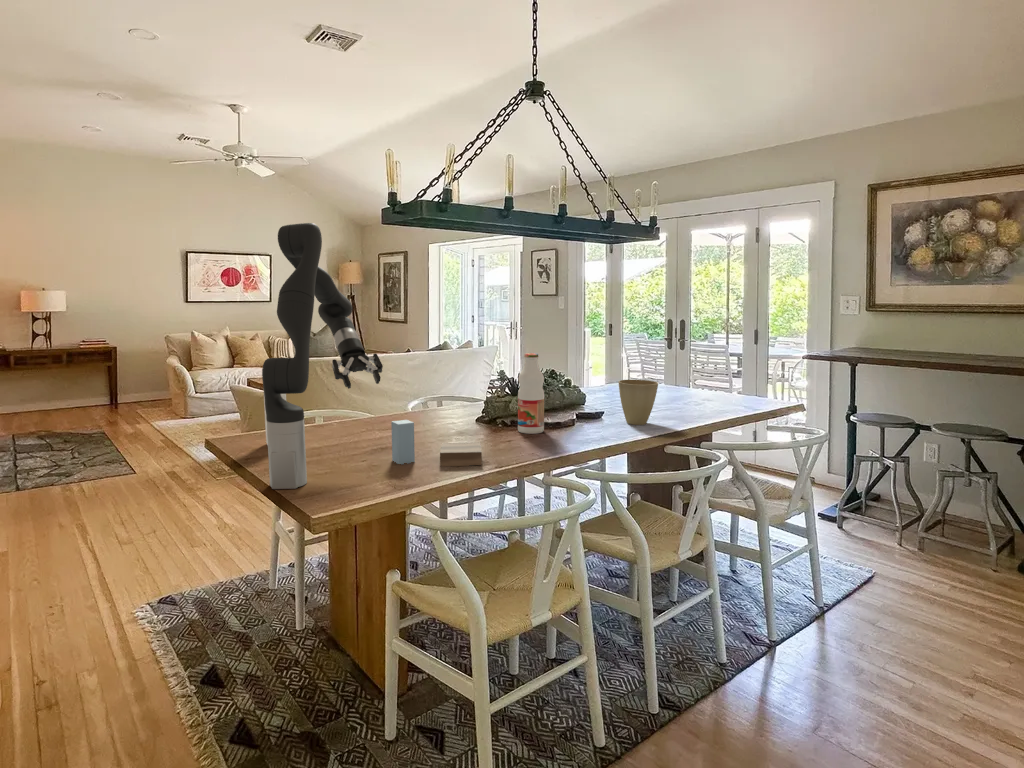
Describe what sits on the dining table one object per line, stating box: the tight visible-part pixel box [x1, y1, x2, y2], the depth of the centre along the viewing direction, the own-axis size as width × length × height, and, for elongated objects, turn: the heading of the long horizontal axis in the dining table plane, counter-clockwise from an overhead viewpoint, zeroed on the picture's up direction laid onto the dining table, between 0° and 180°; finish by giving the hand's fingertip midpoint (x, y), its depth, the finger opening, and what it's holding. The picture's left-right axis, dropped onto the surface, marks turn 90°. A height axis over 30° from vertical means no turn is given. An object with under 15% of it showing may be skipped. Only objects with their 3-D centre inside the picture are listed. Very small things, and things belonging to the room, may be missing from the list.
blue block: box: [390, 419, 416, 465], centre depth 195 cm, size 5×5×12 cm
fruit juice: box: [517, 352, 545, 435], centre depth 236 cm, size 9×9×28 cm
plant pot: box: [618, 379, 659, 426], centre depth 252 cm, size 15×15×16 cm
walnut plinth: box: [439, 442, 483, 467], centre depth 197 cm, size 12×12×4 cm
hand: (364, 384), depth 195 cm, fingers open, 8 cm apart
